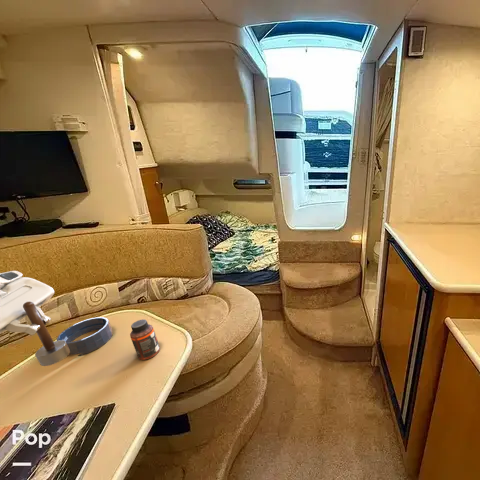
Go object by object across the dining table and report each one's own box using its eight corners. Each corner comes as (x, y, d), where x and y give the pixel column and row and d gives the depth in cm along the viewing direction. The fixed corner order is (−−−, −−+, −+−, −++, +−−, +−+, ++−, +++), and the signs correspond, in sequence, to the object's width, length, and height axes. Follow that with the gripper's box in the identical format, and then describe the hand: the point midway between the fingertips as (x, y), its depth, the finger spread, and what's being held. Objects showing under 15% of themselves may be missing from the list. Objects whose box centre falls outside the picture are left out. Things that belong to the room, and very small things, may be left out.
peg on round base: (35, 362, 66) (4, 306, 61) (62, 347, 71) (36, 294, 65) (47, 368, 64) (16, 311, 58) (74, 352, 69) (48, 297, 63)
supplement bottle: (164, 349, 84) (154, 319, 80) (146, 363, 79) (135, 331, 75) (152, 344, 87) (142, 315, 83) (134, 357, 82) (122, 327, 78)
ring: (54, 352, 86) (47, 338, 85) (99, 326, 98) (94, 314, 96) (77, 362, 81) (71, 347, 79) (122, 334, 93) (117, 321, 91)
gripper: (-76, 315, 50) (8, 348, 54) (22, 267, 69) (78, 295, 73) (-89, 338, 51) (-6, 369, 55) (11, 284, 70) (66, 311, 74)
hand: (42, 326), depth 64 cm, fingers closed on peg on round base
